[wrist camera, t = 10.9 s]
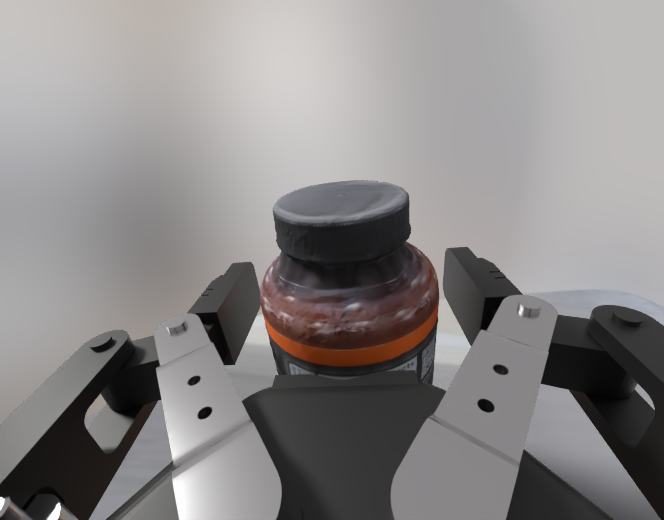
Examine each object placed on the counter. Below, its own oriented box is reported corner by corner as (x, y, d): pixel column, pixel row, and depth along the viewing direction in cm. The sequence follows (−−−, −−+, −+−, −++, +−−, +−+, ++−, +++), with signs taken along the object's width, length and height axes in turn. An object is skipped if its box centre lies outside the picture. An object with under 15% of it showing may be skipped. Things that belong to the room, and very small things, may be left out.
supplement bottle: (308, 379, 17) (270, 179, 12) (415, 380, 16) (425, 166, 11) (283, 504, 12) (196, 239, 6) (441, 514, 11) (482, 222, 6)
